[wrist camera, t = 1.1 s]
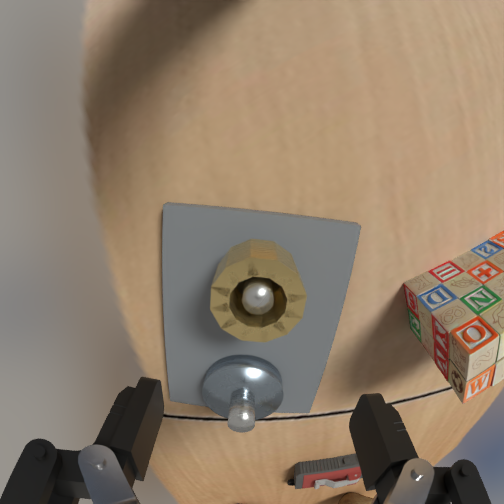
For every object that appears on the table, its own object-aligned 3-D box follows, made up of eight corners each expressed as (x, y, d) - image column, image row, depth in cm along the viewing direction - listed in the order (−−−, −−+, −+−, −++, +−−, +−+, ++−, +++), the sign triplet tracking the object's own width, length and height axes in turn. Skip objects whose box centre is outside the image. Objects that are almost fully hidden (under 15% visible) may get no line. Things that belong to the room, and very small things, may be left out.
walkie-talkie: (286, 482, 39) (393, 462, 38) (288, 502, 35) (399, 480, 34) (287, 460, 36) (407, 438, 35) (289, 483, 32) (415, 457, 31)
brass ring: (220, 235, 21) (212, 253, 17) (303, 243, 21) (313, 263, 18) (215, 308, 23) (208, 337, 19) (290, 315, 23) (296, 344, 19)
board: (167, 202, 24) (163, 204, 22) (356, 222, 24) (361, 226, 23) (172, 393, 31) (170, 400, 30) (307, 405, 31) (309, 413, 30)
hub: (205, 350, 27) (195, 391, 21) (288, 357, 27) (294, 399, 22) (204, 403, 29) (197, 442, 24) (275, 409, 30) (278, 449, 24)
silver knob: (231, 238, 23) (224, 264, 18) (289, 244, 23) (299, 271, 18) (227, 290, 25) (220, 327, 19) (281, 295, 25) (287, 333, 19)
